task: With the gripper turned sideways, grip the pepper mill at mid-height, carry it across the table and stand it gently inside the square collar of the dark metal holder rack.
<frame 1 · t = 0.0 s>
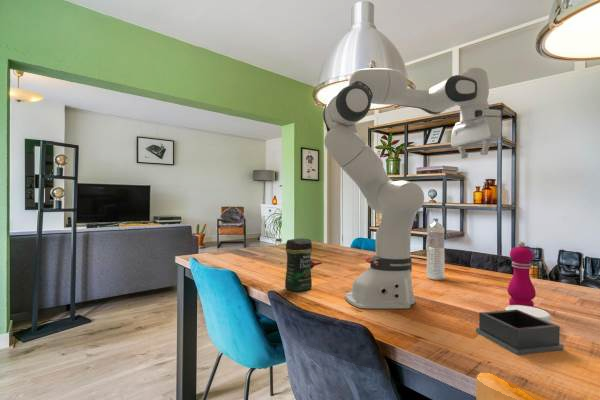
hand: (473, 156, 112), 48 cm above the table, tool pointing down, fingers open, 8 cm apart
pepper mill: (521, 306, 99), on the table
coaster: (527, 324, 86), on the table
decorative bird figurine: (306, 274, 141), on the table
coffee jar: (298, 289, 118), on the table
holder rack: (517, 340, 75), on the table
water bottle: (435, 278, 134), on the table
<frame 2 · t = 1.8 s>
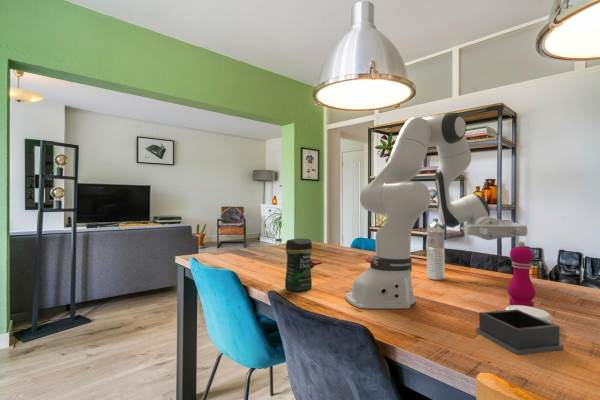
hand: (503, 232, 111), 22 cm above the table, tool horizontal, fingers open, 8 cm apart
nothing on the table moved.
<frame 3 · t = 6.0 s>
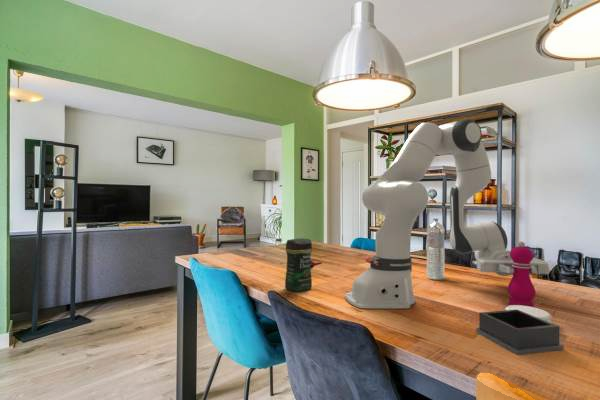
hand: (522, 271, 98), 11 cm above the table, tool horizontal, fingers closed on pepper mill, 5 cm apart
pepper mill: (521, 306, 99), on the table, touching gripper
everything else where it was.
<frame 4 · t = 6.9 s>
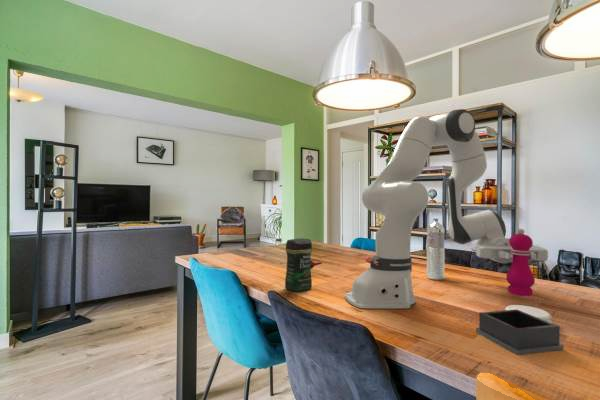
hand: (522, 256, 98), 15 cm above the table, tool horizontal, fingers closed on pepper mill, 5 cm apart
pepper mill: (519, 294, 99), point 4 cm above the table, touching gripper
everything else where it was.
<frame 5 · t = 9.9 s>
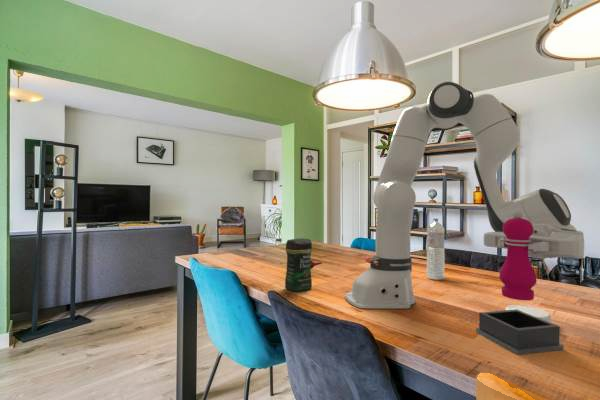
hand: (515, 245, 75), 22 cm above the table, tool horizontal, fingers closed on pepper mill, 5 cm apart
pepper mill: (517, 297, 75), point 10 cm above the table, touching gripper
everything else where it was.
when the fingers open (13 cm above the table, at t = 12.8 s): pepper mill stays where it is, resting on holder rack.
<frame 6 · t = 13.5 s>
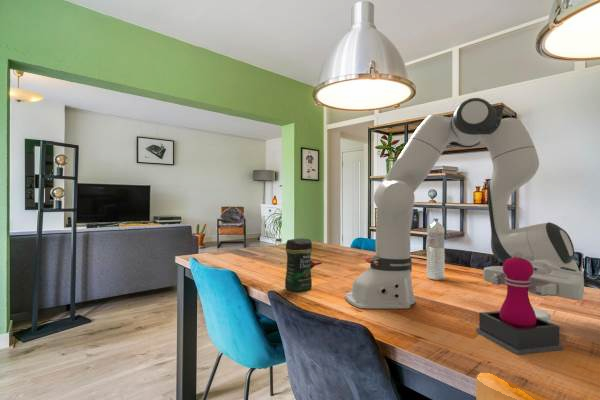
hand: (515, 285, 75), 13 cm above the table, tool horizontal, fingers open, 8 cm apart
pepper mill: (517, 336, 75), point 1 cm above the table, touching holder rack
everything else where it was.
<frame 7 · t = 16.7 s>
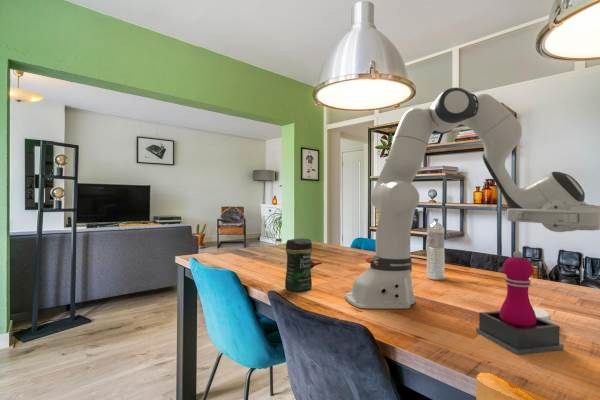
hand: (539, 217, 82), 29 cm above the table, tool horizontal, fingers open, 8 cm apart
nothing on the table moved.
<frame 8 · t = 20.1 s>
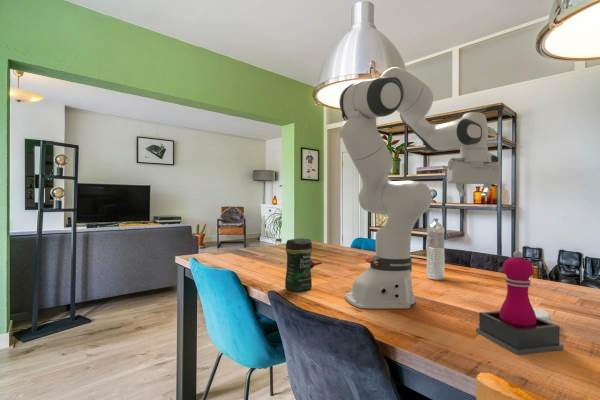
hand: (473, 196, 116), 34 cm above the table, tool pointing down, fingers open, 8 cm apart
nothing on the table moved.
at the end: pepper mill 0.1 cm off-centre on the holder rack, point 0.8 cm above the holder rack's base; pepper mill tilted 0°; the gripper is holding nothing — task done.
